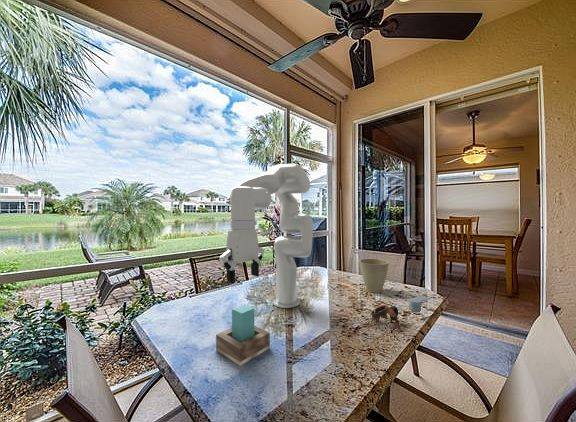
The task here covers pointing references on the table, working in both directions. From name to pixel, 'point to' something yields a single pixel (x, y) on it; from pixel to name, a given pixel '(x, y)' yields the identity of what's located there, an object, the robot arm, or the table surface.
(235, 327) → the teal block
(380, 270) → the plant pot
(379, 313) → the brown toy animal
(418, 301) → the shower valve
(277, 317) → the table surface
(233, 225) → the robot arm
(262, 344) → the walnut well
